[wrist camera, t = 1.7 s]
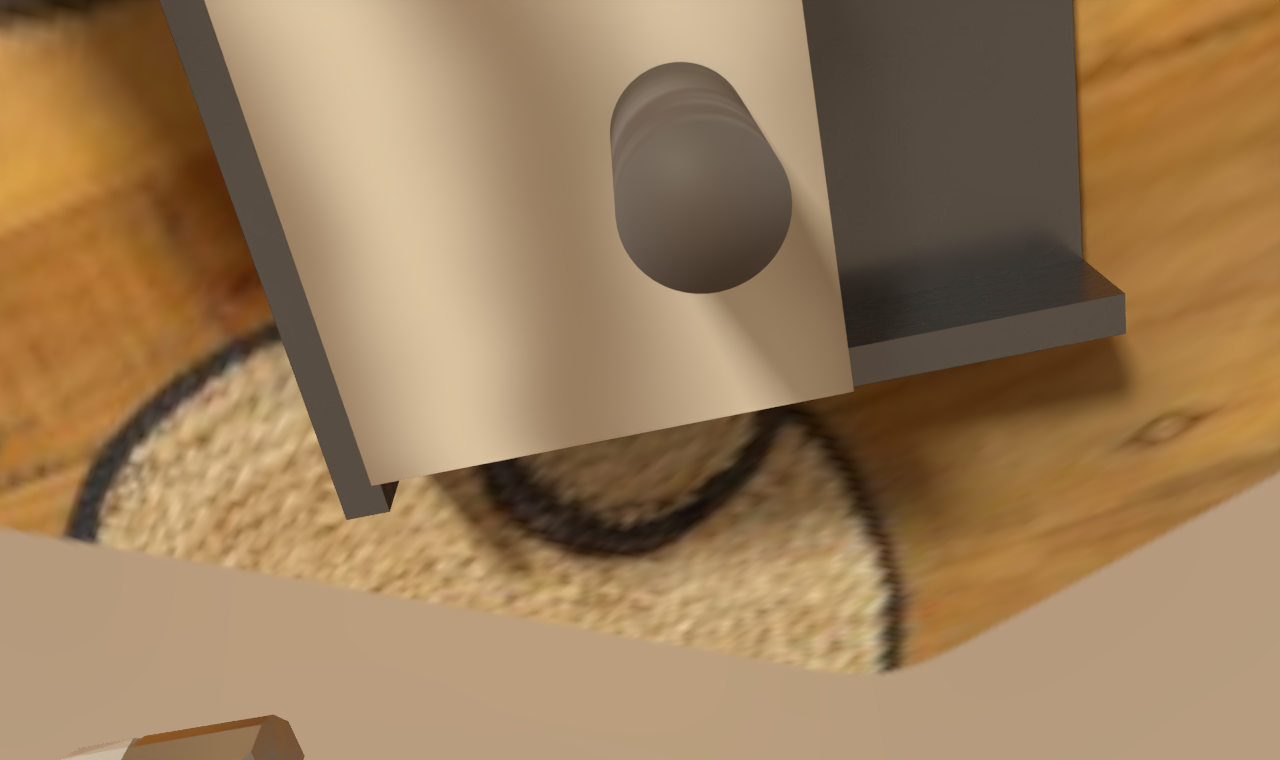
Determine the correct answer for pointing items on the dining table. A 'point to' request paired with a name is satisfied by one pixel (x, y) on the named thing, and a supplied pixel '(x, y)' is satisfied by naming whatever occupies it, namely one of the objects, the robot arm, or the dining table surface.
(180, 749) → the robot arm
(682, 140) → the beige knobbed block
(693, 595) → the dining table surface
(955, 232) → the bay
